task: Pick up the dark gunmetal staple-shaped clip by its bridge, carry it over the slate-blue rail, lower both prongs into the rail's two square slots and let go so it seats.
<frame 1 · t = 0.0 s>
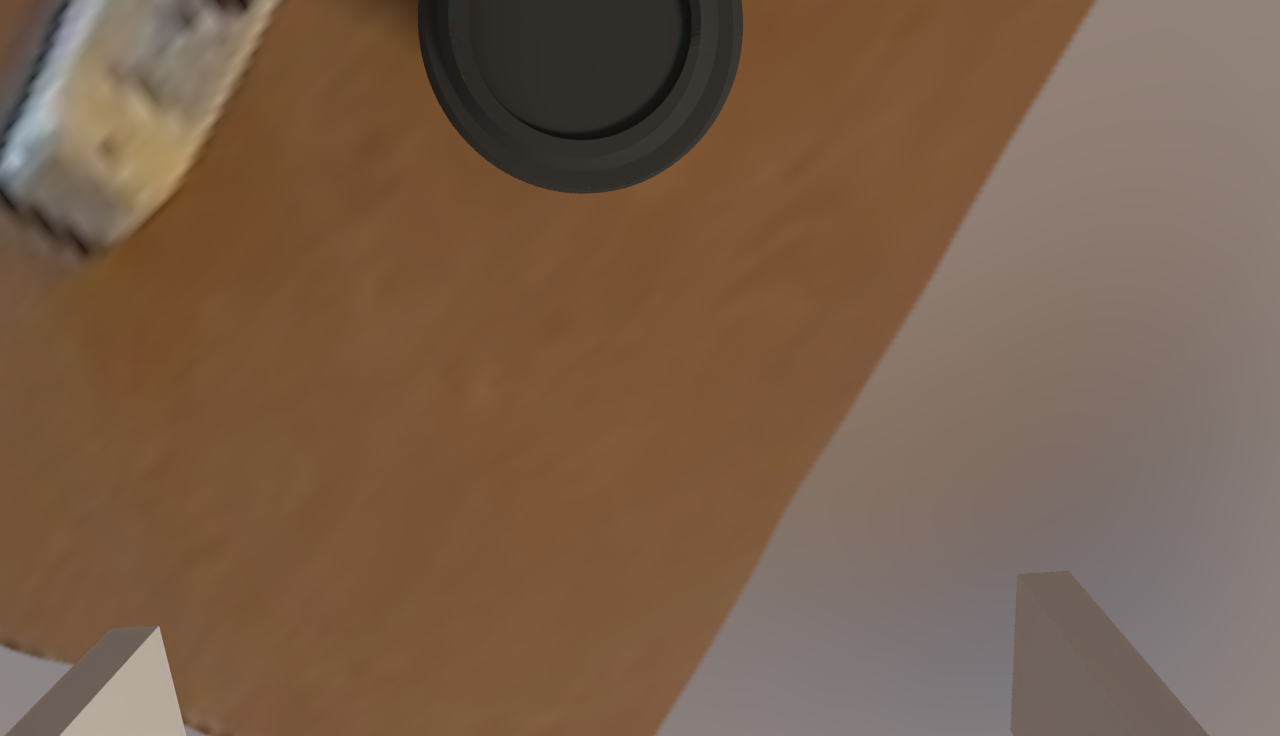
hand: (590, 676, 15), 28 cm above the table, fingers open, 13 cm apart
coffee cup: (602, 45, 39), on the table
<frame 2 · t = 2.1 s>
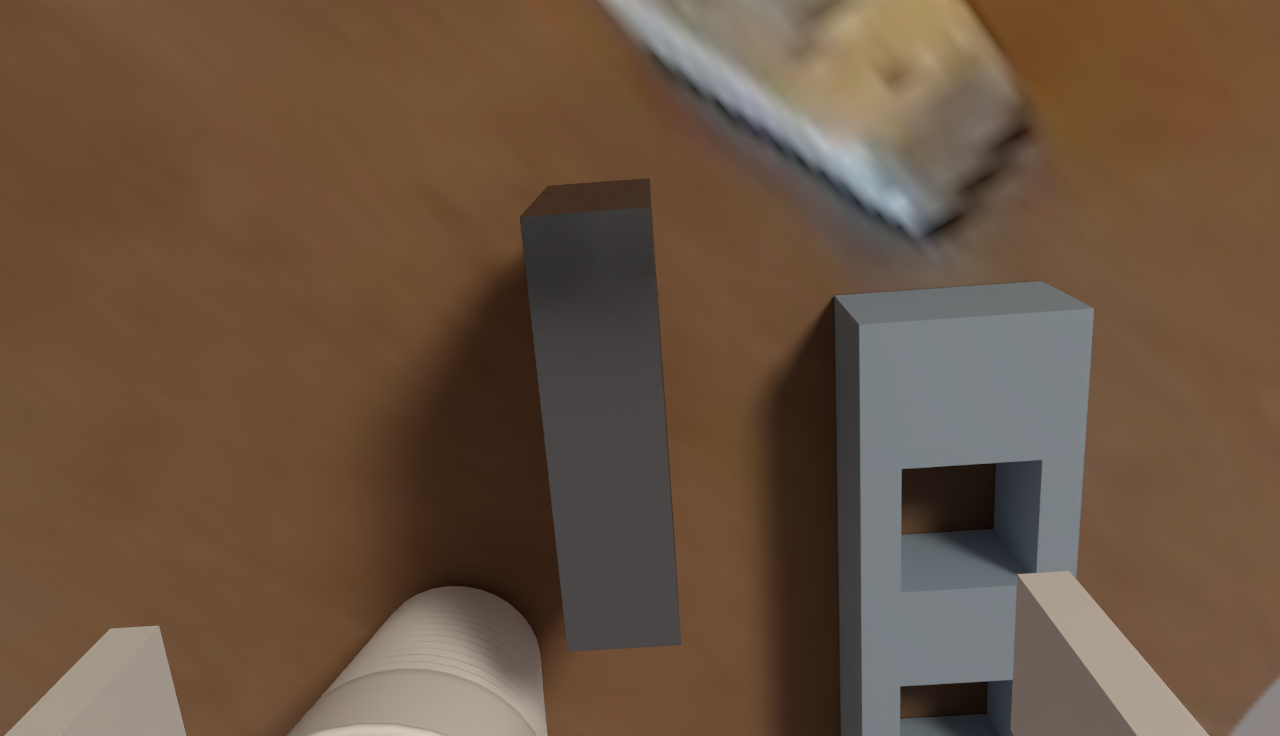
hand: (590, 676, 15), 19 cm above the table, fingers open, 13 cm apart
clip: (617, 338, 33), on the table
rail: (932, 576, 36), on the table
cup: (462, 648, 37), on the table
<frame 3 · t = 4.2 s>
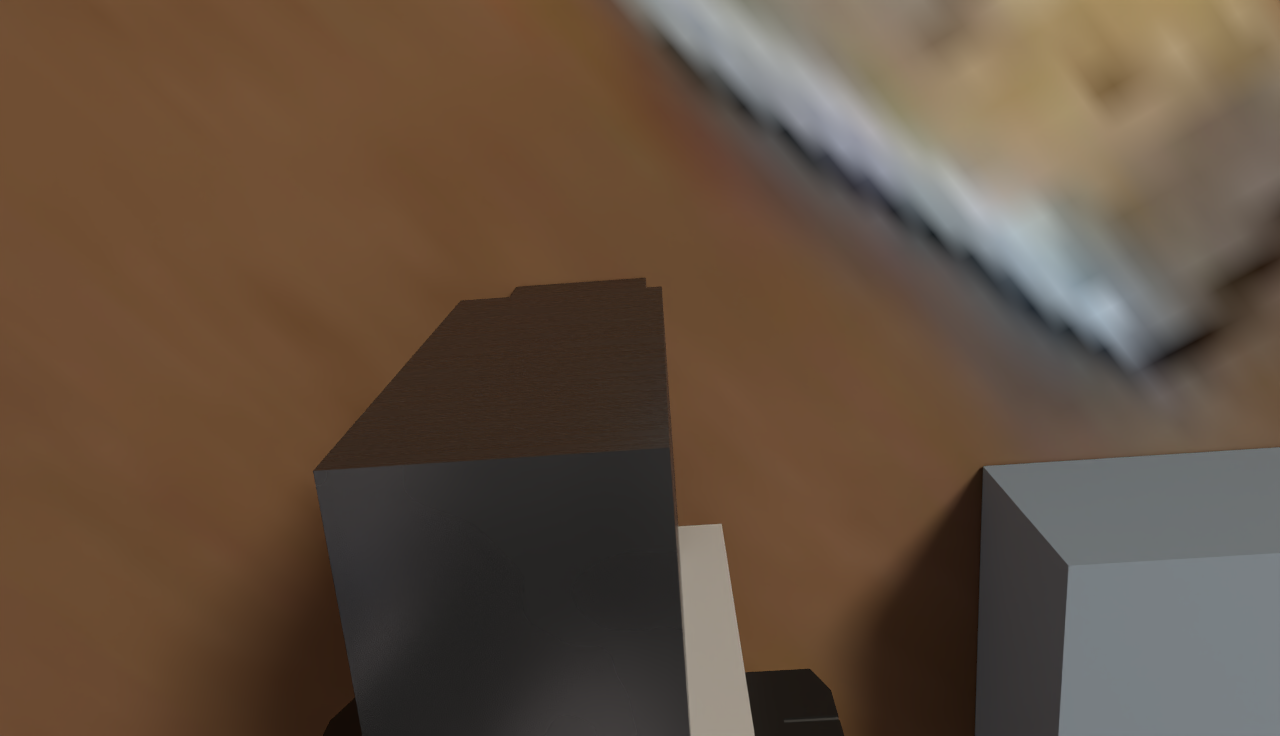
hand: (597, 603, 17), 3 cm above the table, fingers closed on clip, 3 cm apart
clip: (604, 536, 19), on the table, touching gripper
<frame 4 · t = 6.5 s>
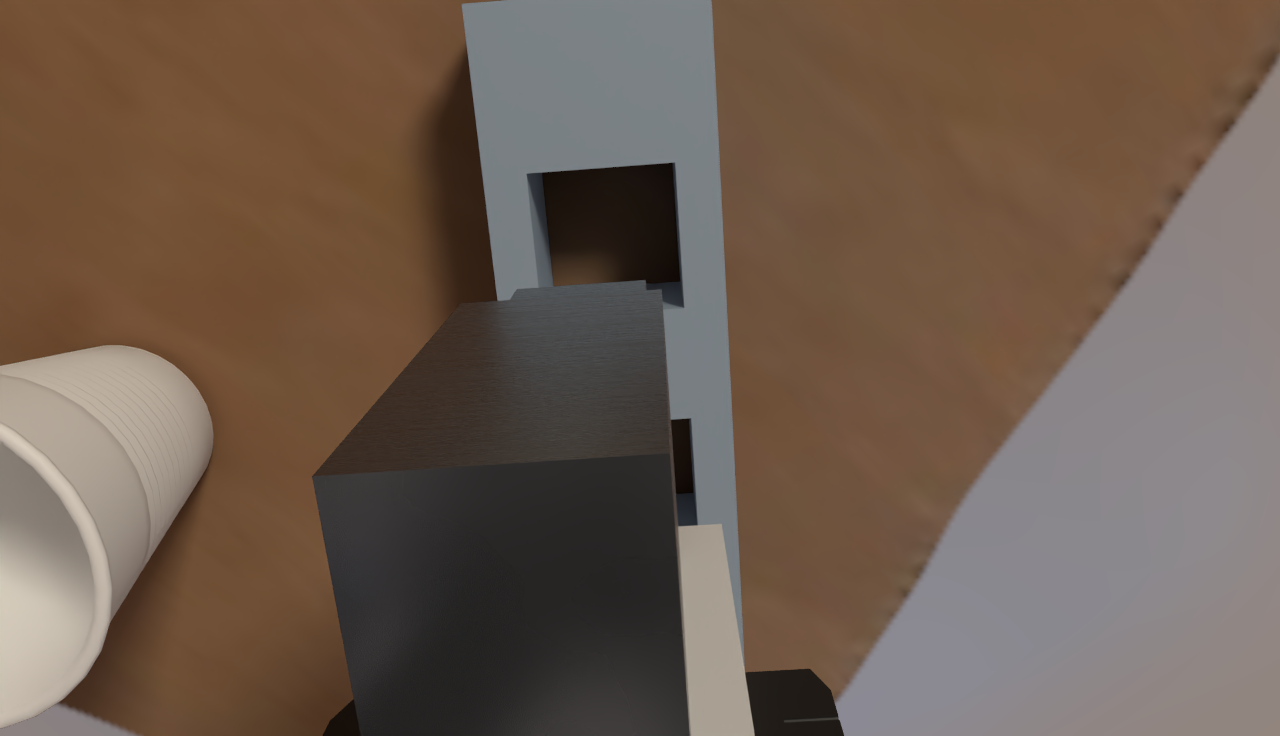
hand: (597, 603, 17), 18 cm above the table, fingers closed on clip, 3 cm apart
clip: (604, 538, 19), point 15 cm above the table, touching gripper
rail: (621, 335, 34), on the table
cup: (136, 421, 35), on the table
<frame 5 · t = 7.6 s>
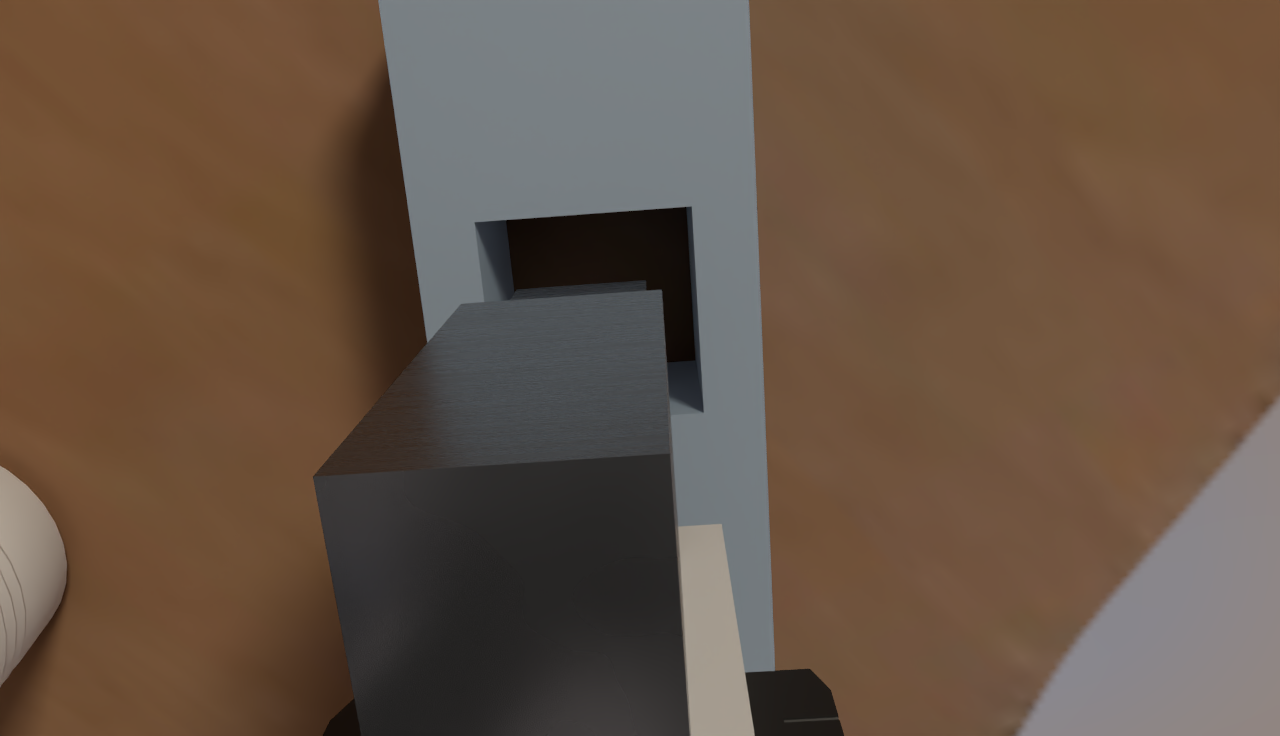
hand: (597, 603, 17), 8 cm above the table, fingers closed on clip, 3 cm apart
clip: (604, 538, 19), point 6 cm above the table, touching gripper
rail: (615, 432, 25), on the table
when the fingers open (5 cm above the table, at t = 8.6 s): clip drops 1 cm, resting on rail.
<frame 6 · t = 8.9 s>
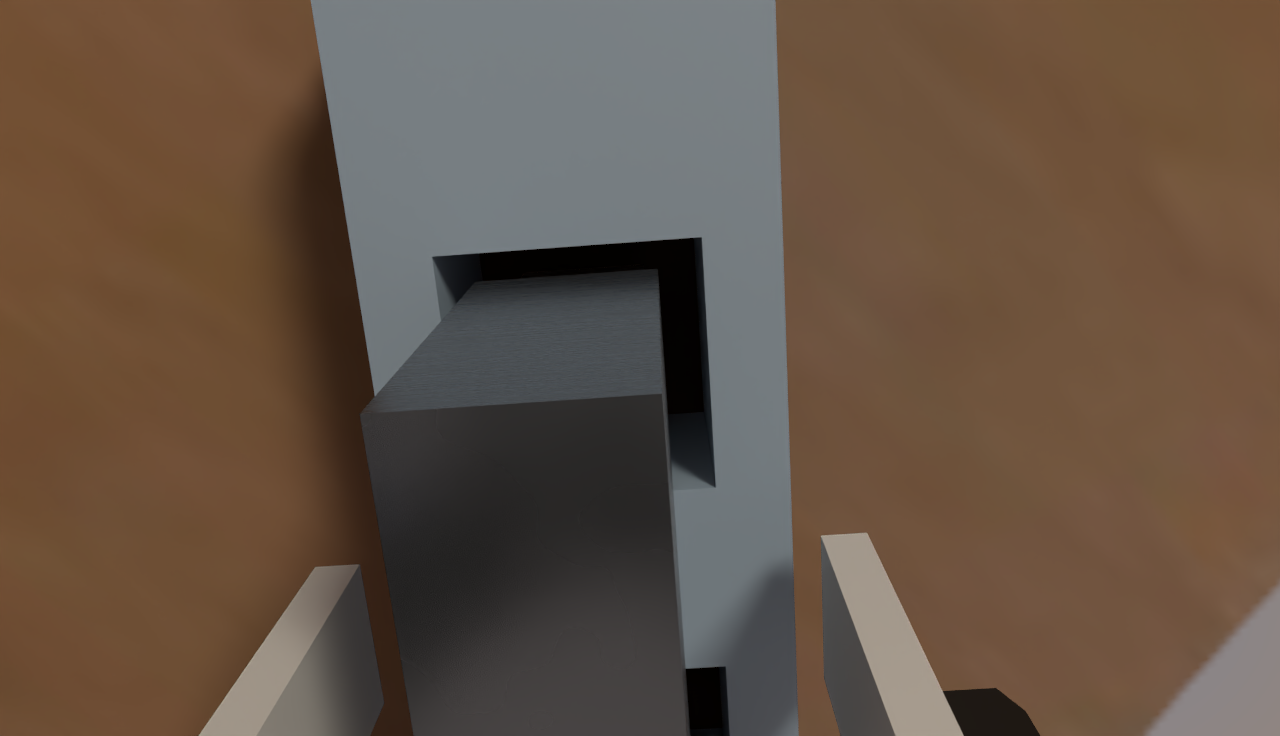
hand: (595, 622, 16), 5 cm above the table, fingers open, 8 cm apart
clip: (605, 505, 21), resting on rail
rail: (608, 495, 21), on the table
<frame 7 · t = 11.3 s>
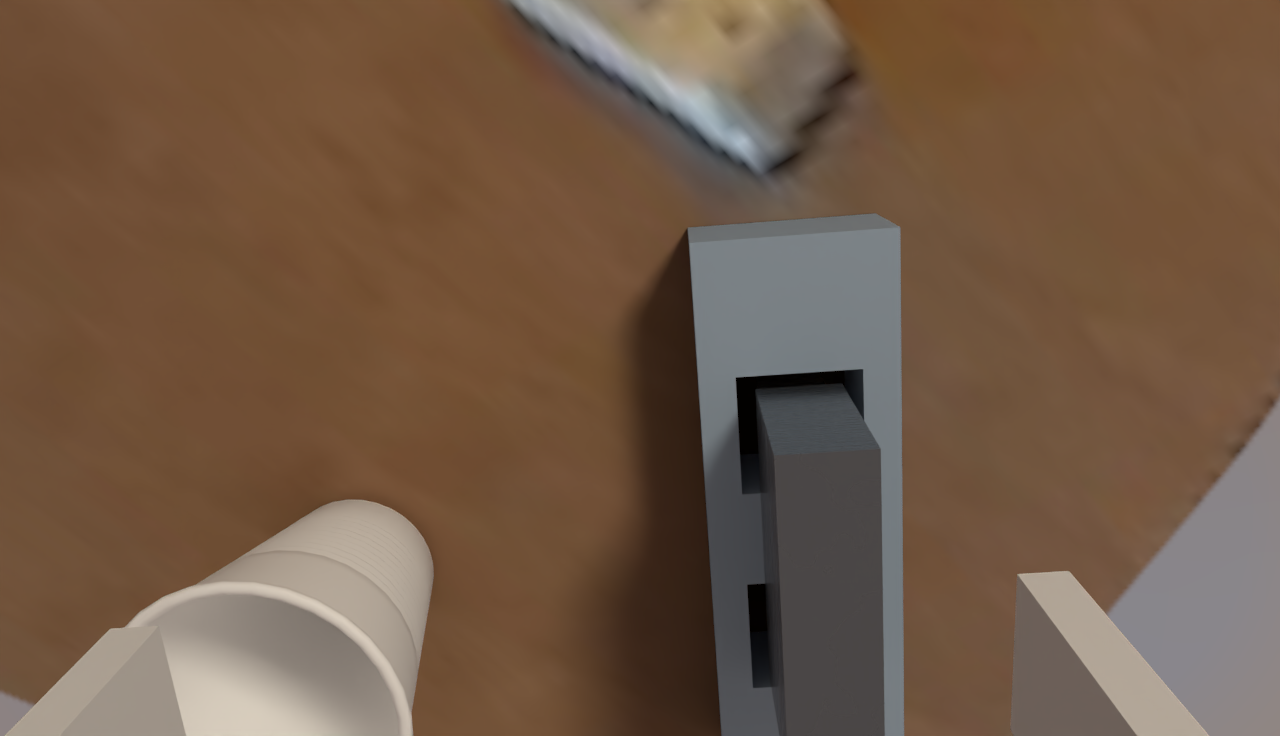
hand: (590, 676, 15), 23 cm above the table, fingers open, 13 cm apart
clip: (792, 498, 38), resting on rail
rail: (792, 493, 39), on the table
cup: (364, 560, 40), on the table
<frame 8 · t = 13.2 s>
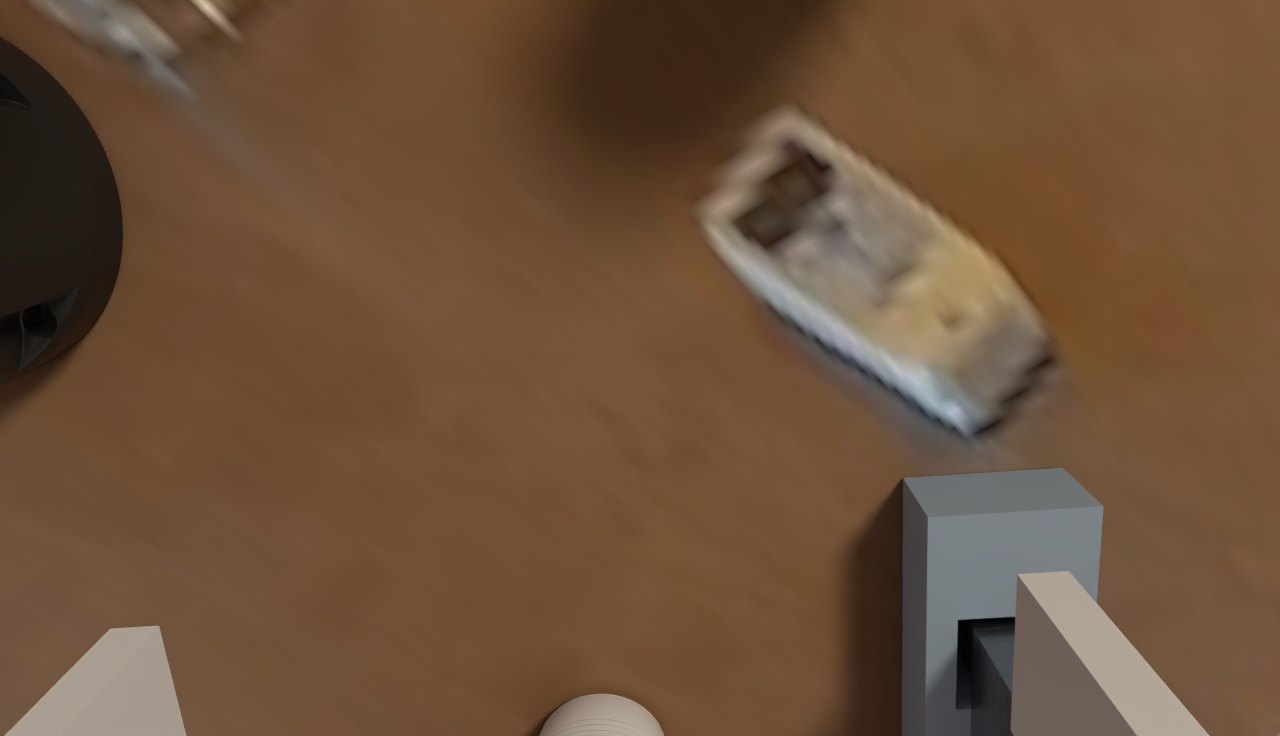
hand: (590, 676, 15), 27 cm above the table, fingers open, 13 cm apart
clip: (978, 693, 45), resting on rail
rail: (975, 686, 45), on the table
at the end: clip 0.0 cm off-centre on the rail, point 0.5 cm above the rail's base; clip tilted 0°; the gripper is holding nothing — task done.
